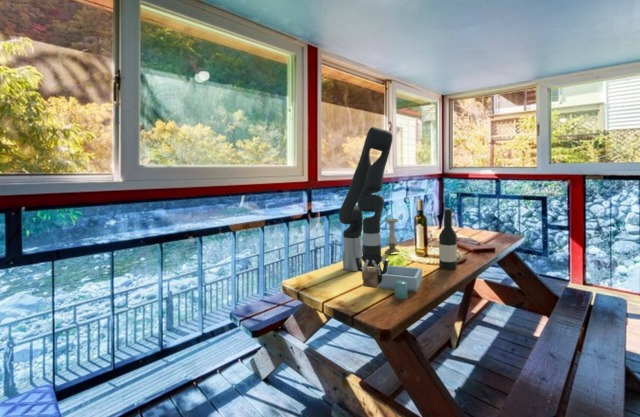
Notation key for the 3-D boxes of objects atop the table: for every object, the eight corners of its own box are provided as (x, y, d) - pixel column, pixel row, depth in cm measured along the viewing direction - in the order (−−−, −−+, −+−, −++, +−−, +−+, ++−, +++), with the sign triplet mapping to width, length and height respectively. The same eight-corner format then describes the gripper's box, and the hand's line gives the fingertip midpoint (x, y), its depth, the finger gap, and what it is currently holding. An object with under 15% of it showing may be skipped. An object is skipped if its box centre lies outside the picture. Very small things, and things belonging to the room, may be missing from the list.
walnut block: (363, 286, 140) (362, 272, 139) (368, 280, 146) (368, 267, 145) (376, 288, 137) (375, 274, 136) (381, 282, 143) (380, 268, 142)
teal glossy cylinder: (393, 298, 136) (393, 284, 135) (396, 293, 140) (396, 280, 139) (406, 300, 134) (405, 285, 133) (408, 295, 138) (408, 281, 137)
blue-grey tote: (379, 287, 148) (379, 274, 147) (387, 277, 160) (387, 265, 160) (416, 292, 141) (416, 278, 140) (422, 281, 153) (422, 268, 153)
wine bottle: (458, 270, 165) (458, 209, 161) (440, 270, 167) (440, 210, 163) (455, 265, 173) (455, 207, 169) (438, 265, 175) (437, 207, 171)
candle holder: (388, 255, 197) (387, 221, 195) (382, 252, 206) (381, 219, 203) (402, 254, 199) (401, 220, 196) (396, 250, 207) (395, 218, 205)
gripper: (351, 243, 139) (352, 282, 141) (386, 246, 132) (386, 287, 135) (358, 239, 145) (359, 277, 148) (391, 241, 139) (391, 281, 141)
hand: (372, 281), depth 141 cm, fingers closed on walnut block, 5 cm apart
